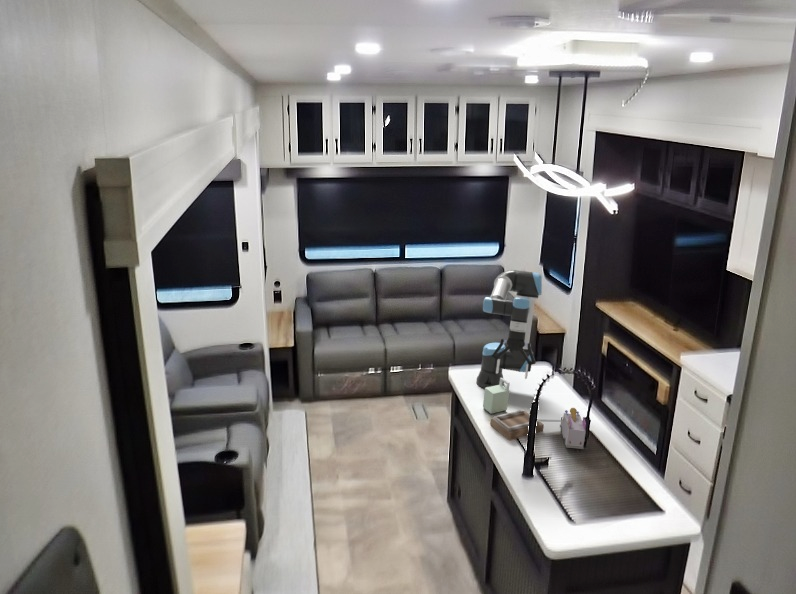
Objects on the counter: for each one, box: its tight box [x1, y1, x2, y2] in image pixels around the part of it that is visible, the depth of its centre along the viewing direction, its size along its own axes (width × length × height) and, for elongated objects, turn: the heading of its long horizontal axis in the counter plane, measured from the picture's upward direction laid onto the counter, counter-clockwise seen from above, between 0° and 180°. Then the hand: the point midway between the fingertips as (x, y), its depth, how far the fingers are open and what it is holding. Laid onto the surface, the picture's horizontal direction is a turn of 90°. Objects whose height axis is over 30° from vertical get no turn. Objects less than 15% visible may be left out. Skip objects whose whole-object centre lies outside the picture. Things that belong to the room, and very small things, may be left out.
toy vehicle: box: [559, 407, 587, 450], centre depth 290 cm, size 9×20×15 cm, turn 174°
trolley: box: [482, 377, 511, 416], centre depth 314 cm, size 10×7×16 cm
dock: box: [489, 409, 545, 441], centre depth 300 cm, size 20×15×6 cm
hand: (511, 375), depth 291 cm, fingers open, 13 cm apart
